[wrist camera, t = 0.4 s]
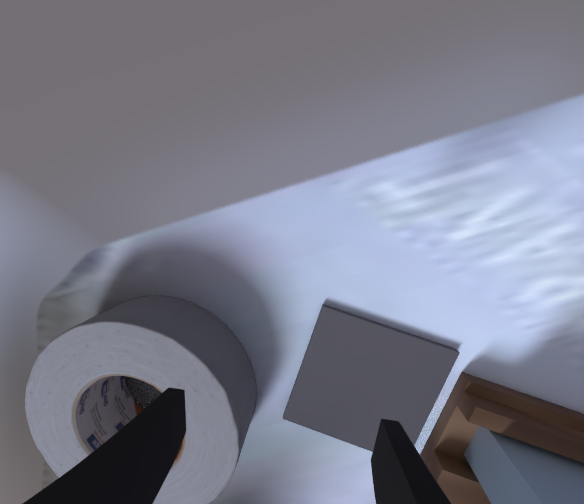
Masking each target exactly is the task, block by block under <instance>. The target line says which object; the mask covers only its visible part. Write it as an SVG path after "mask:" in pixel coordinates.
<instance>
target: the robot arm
mask: <svg viewBox="0 0 584 504" xmlns="http://www.w3.org/2000/svg"><path fill="white" fill-rule="evenodd" d="M185 434H186V409H185V390H183V389H176V388H170V387H169V388H167V389H166V390H165V391H164V392H163V393H162V394H160V395H159V396H158V397H157V398H156V399H155V400H154V401H152V402H151V403H150V404H149V405H148V406H147V407H146V408H145V409H143V410H142V411H141V412H140V413H139V414H138V415H137V416H135V417H134V418H133V419H132V420H131V421H130V422H128V423H127V424H126V425H125V426H124V427H123V428H121V429H120V430H119V431H118V432H117V433H115V434H114V435H113V436H112V437H111V438H110V439H108V440H107V441H106V442H105V443H103V444H102V445H101V446H100V447H98V448H97V449H96V450H95V451H93V452H92V453H91V454H89V455H88V456H87V457H86V458H84V459H83V460H82V461H81V462H79V463H78V464H77V465H76V466H74V467H73V468H72V469H70V470H69V471H68V472H66V473H65V474H64V475H62V476H61V477H60V478H58V479H57V480H55V481H54V482H53V483H51V484H50V485H49V486H47V487H46V488H44V489H43V490H41V491H40V492H39V493H37V494H36V495H34V496H33V497H32V498H30V499H29V500H27V501H26V502H24V503H23V504H153V502H154V500H155V498H156V496H157V494H158V493H159V491H160V489H161V487H162V485H163V483H164V481H165V479H166V477H167V475H168V473H169V471H170V469H171V467H172V465H173V463H174V461H175V458H176V456H177V454H178V451H179V449H180V446H181V444H182V441H183V439H184V436H185ZM371 466H372V475H373V484H374V492H375V499H376V504H451V502H450V501H449V499H448V498H447V496H446V495H445V493H444V492H443V490H442V489H441V487H440V486H439V484H438V483H437V481H436V480H435V478H434V477H433V475H432V474H431V472H430V471H429V469H428V467H427V466H426V464H425V463H424V461H423V459H422V458H421V456H420V455H419V453H418V451H417V450H416V448H415V447H414V445H413V443H412V442H411V440H410V438H409V437H408V435H407V433H406V432H405V430H404V428H403V427H402V425H401V424H400V422H399V421H394V420H387V419H381V421H380V425H379V429H378V433H377V437H376V441H375V445H374V449H373V454H372V458H371Z"/></svg>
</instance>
